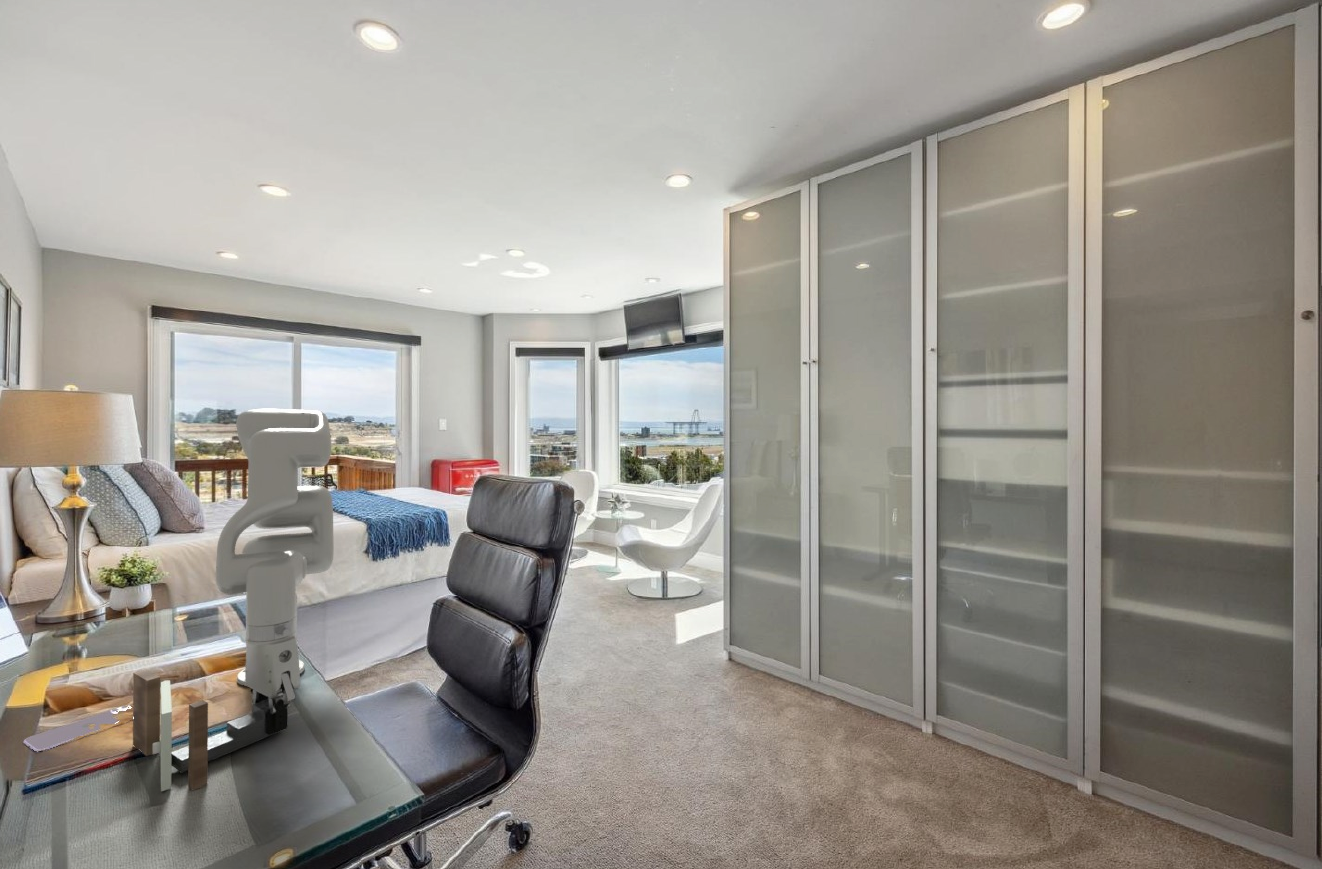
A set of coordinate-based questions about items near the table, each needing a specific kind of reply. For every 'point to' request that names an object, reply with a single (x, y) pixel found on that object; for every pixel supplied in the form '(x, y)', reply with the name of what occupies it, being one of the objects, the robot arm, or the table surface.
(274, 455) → the robot arm
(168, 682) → the door
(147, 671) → the wooden posts
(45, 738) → the mobile phone
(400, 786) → the table surface
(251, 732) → the dark gray beam
